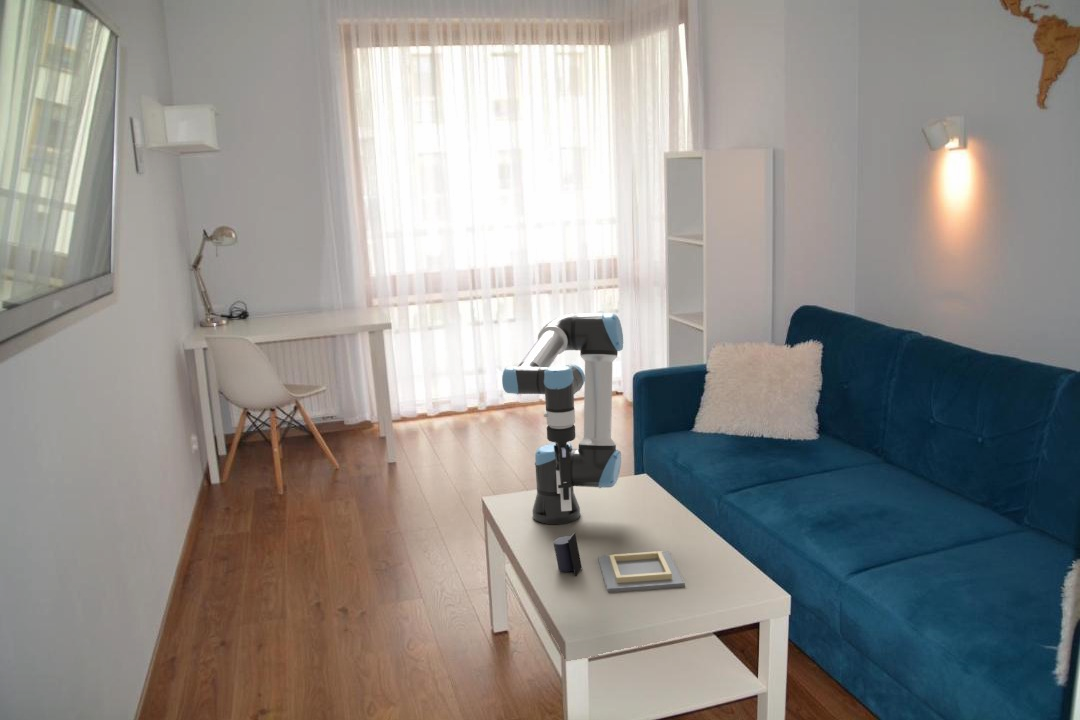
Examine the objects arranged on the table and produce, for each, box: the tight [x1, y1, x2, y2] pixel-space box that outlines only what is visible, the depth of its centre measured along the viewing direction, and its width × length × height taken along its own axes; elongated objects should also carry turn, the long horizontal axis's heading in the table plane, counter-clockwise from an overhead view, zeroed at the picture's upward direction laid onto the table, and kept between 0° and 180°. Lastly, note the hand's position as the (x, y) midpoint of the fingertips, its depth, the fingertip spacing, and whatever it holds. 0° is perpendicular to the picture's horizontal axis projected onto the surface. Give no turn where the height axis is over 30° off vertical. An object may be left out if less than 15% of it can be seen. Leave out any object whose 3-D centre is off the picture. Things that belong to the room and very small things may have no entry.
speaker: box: [552, 532, 583, 577], centre depth 234 cm, size 8×6×10 cm
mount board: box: [597, 550, 686, 593], centre depth 231 cm, size 20×20×2 cm
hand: (564, 501), depth 231 cm, fingers open, 13 cm apart
